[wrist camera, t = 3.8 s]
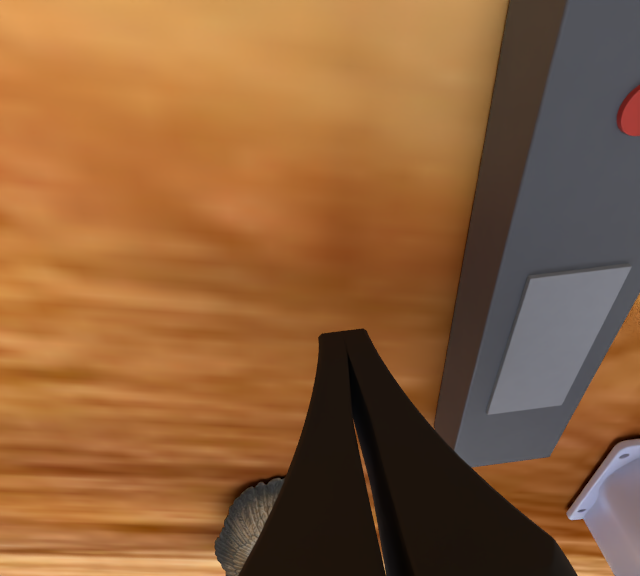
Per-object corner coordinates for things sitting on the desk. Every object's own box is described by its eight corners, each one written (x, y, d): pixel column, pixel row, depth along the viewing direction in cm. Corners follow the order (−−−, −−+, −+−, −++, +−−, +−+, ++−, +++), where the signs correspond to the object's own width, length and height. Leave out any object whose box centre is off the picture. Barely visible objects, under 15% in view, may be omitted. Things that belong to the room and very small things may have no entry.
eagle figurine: (331, 565, 27) (393, 539, 21) (270, 698, 22) (326, 718, 16) (240, 491, 28) (273, 445, 22) (162, 603, 23) (173, 585, 17)
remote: (525, 414, 20) (551, 460, 18) (433, 426, 20) (449, 473, 18) (715, -36, 9) (828, -33, 7) (511, -15, 9) (573, -6, 7)
